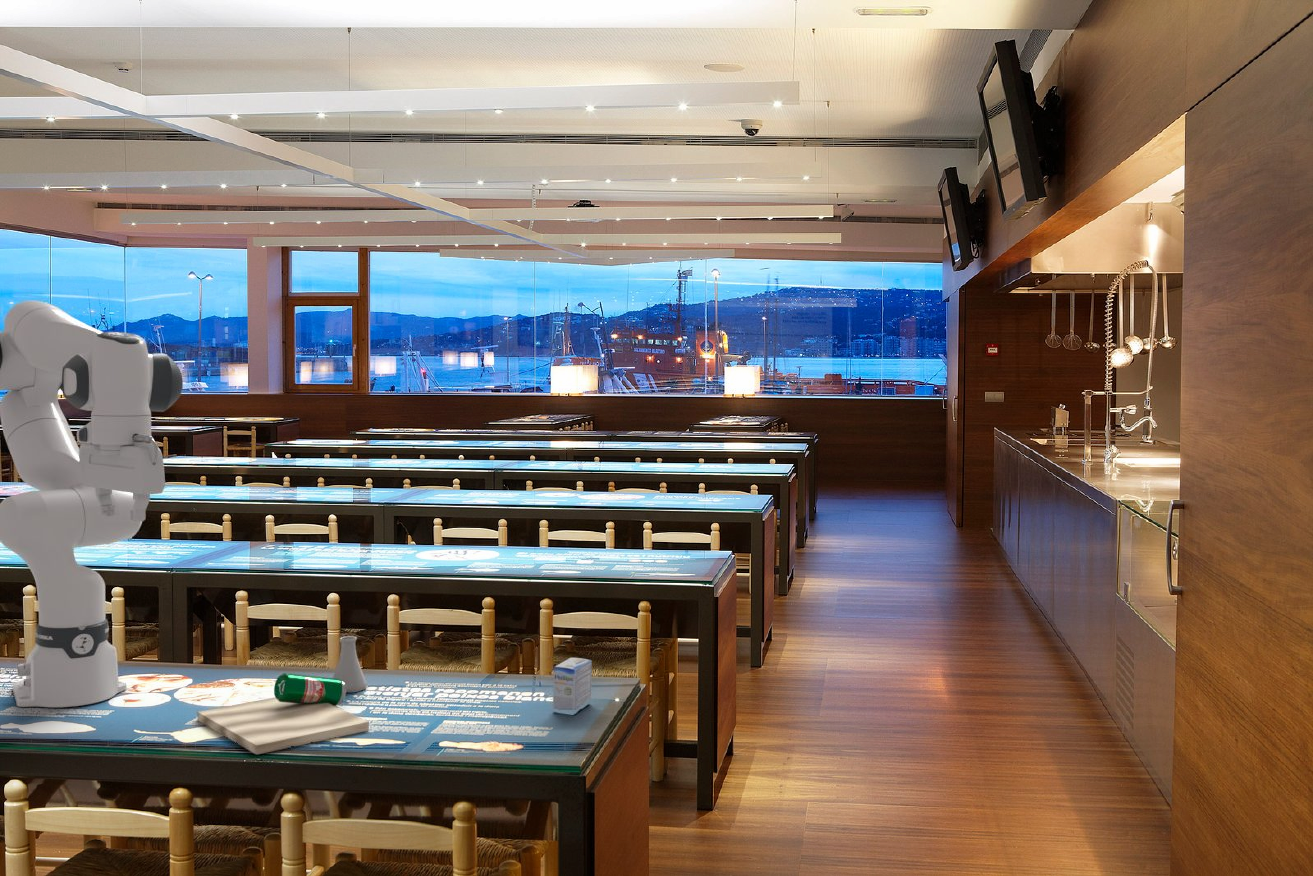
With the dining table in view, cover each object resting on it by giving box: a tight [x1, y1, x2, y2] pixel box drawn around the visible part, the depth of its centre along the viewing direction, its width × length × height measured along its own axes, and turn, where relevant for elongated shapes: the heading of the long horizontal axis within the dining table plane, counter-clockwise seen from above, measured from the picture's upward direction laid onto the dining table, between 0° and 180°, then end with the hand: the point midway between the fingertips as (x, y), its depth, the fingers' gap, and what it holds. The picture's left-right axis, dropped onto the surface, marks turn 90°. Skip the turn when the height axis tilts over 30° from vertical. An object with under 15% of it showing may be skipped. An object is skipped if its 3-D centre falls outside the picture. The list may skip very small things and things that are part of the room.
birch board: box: [196, 697, 370, 755], centre depth 205 cm, size 24×20×2 cm
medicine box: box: [552, 657, 593, 710], centre depth 218 cm, size 8×4×9 cm, turn 161°
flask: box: [332, 635, 368, 693], centre depth 229 cm, size 7×7×10 cm
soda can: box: [273, 672, 347, 707], centre depth 214 cm, size 5×5×12 cm
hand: (122, 518), depth 192 cm, fingers open, 8 cm apart
